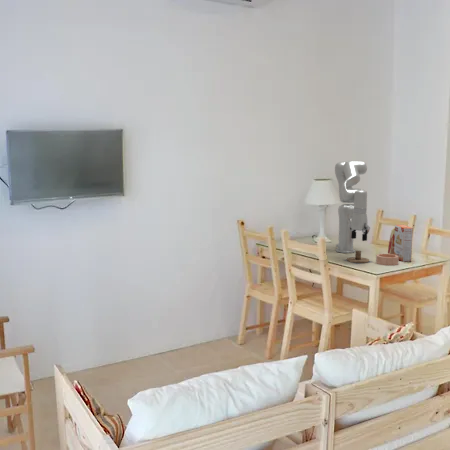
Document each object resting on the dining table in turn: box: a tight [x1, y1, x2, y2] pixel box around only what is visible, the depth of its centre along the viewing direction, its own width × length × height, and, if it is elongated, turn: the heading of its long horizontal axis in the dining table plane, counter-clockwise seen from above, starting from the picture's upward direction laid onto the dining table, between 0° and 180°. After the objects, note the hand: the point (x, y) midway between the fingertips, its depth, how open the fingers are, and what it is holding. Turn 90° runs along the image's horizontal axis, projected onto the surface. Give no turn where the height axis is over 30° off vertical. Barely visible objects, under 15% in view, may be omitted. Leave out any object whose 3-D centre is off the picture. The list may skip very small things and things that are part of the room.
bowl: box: [375, 253, 400, 266], centre depth 324 cm, size 12×12×5 cm
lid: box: [346, 250, 370, 264], centre depth 329 cm, size 13×13×6 cm
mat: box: [343, 259, 373, 265], centre depth 329 cm, size 13×13×1 cm
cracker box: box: [394, 224, 414, 263], centre depth 336 cm, size 14×6×21 cm, turn 4°
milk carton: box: [387, 227, 395, 254], centre depth 348 cm, size 9×9×20 cm
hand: (359, 239), depth 327 cm, fingers open, 9 cm apart
